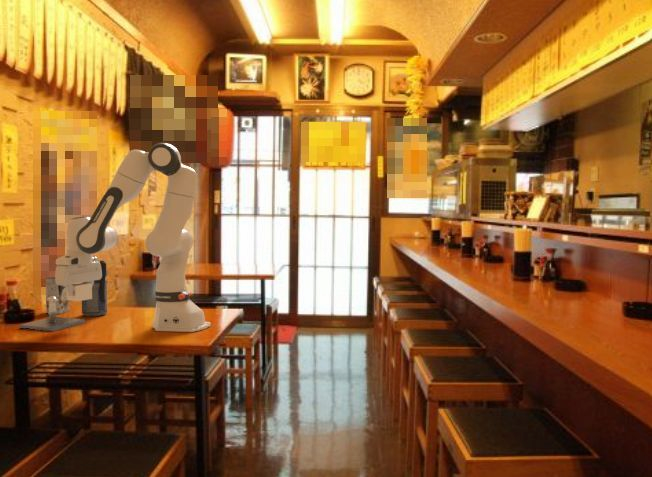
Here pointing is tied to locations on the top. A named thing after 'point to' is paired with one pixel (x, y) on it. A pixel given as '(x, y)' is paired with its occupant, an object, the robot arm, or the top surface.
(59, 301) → the coffee box
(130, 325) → the top surface
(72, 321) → the post stand
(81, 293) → the white cube
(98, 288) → the beverage bottle
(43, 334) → the top surface
